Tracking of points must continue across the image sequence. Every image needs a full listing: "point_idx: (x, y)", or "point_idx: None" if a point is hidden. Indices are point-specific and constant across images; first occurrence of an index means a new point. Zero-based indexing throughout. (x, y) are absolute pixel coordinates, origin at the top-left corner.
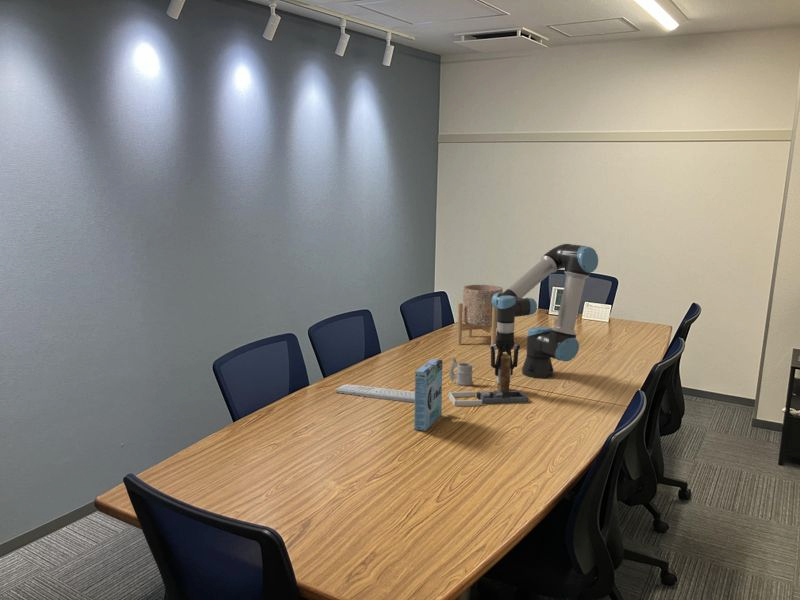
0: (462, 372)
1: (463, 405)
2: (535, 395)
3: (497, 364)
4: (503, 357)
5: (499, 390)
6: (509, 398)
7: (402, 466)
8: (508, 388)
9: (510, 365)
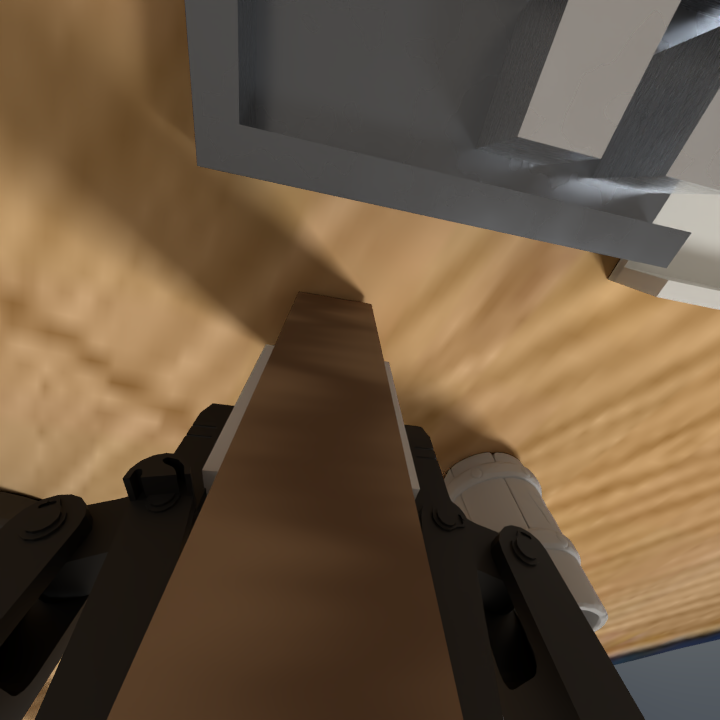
0: (575, 552)
1: None
2: (58, 178)
3: (474, 594)
4: None
5: (533, 119)
6: None
7: None
8: (300, 306)
9: (178, 543)
